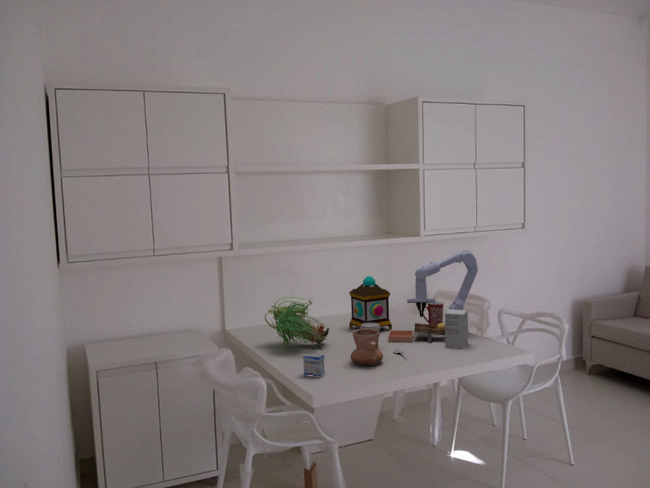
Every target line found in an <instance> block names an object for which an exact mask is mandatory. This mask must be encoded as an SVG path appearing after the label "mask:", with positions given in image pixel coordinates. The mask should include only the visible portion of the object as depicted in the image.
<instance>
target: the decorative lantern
mask: <svg viewBox="0 0 650 488" xmlns="http://www.w3.org/2000/svg"><path fill="white" fill-rule="evenodd" d="M348 294H349V296H350V300H351V301H350V303H351V304H350V305H351V306H350V307H351V319H350V321H349V325H348V326H349V329H353V327H354V326H355V327H356V328H358V329H361V325H362V324H364V323H378V324H379V325H380V328H383V327H388V331H390V330H392V328H393V326H392V325H393V324H392V322H391V320H390V307H389V305H390V304H389V303H390V302H389V298H390V295H391V292H389V290H387V289H386V288H385V289H384V288H382V287H380V286H379V285H378V284H377V283H376V279H374V278H373V277H372V276H371V275H367V276H365V278H363V281H362V284H360V285H359V286H358V287H356V288H353V289H352V290H350V291H349V293H348Z"/></svg>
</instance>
